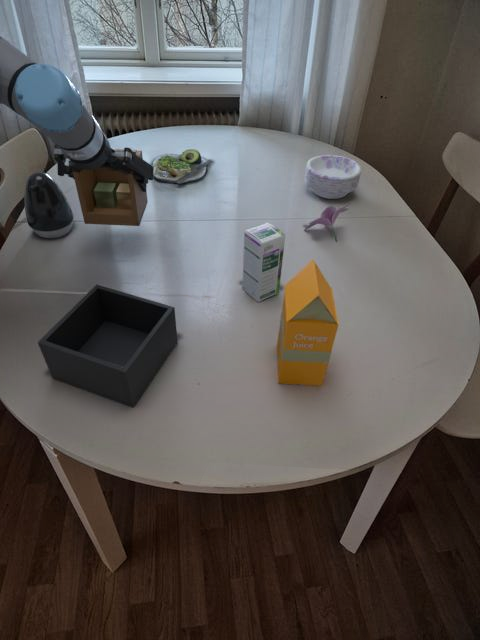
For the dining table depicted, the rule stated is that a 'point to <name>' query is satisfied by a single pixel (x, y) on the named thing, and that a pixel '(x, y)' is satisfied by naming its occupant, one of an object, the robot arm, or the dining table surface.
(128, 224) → the box
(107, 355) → the basket
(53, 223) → the dark grey rounded cone
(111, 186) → the cube sage
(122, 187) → the cube cream
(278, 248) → the syrup box
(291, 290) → the orange juice
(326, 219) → the lily
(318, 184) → the paper bowls
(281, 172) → the dining table surface
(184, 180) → the salad plate
